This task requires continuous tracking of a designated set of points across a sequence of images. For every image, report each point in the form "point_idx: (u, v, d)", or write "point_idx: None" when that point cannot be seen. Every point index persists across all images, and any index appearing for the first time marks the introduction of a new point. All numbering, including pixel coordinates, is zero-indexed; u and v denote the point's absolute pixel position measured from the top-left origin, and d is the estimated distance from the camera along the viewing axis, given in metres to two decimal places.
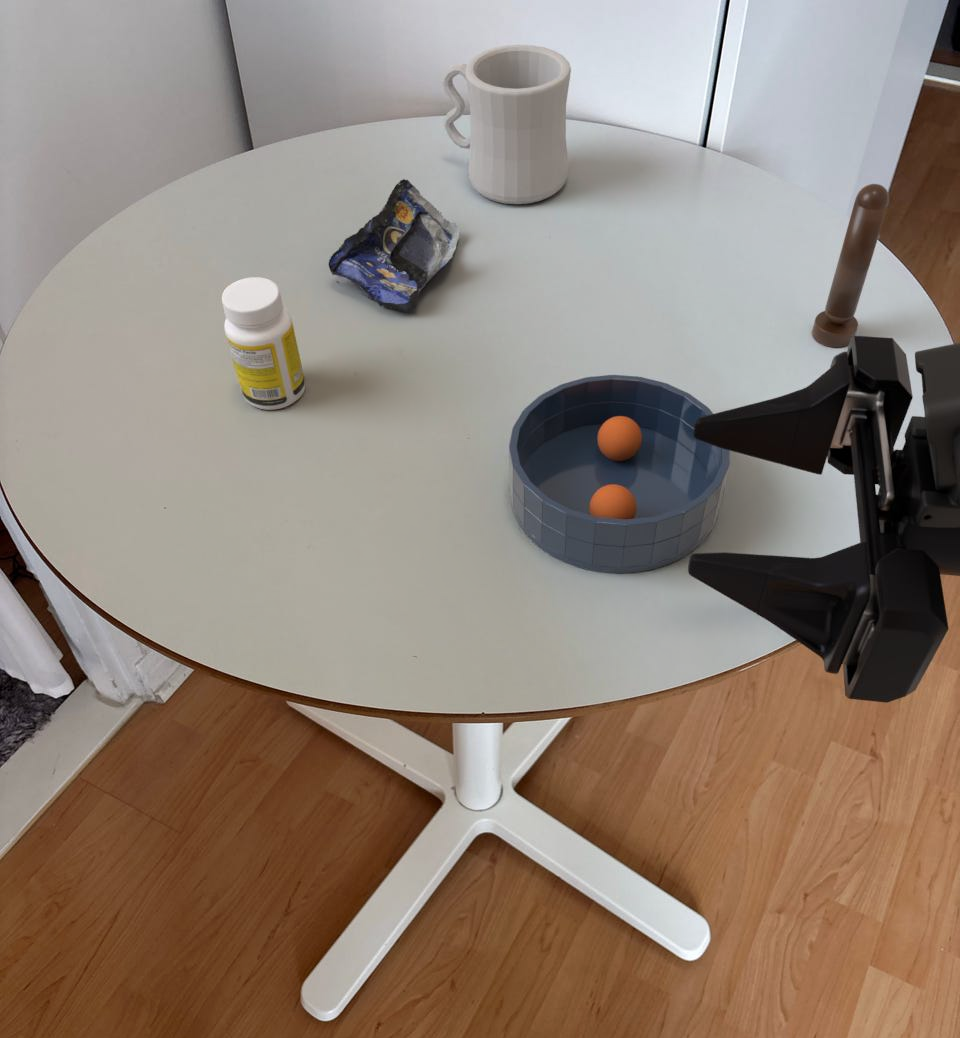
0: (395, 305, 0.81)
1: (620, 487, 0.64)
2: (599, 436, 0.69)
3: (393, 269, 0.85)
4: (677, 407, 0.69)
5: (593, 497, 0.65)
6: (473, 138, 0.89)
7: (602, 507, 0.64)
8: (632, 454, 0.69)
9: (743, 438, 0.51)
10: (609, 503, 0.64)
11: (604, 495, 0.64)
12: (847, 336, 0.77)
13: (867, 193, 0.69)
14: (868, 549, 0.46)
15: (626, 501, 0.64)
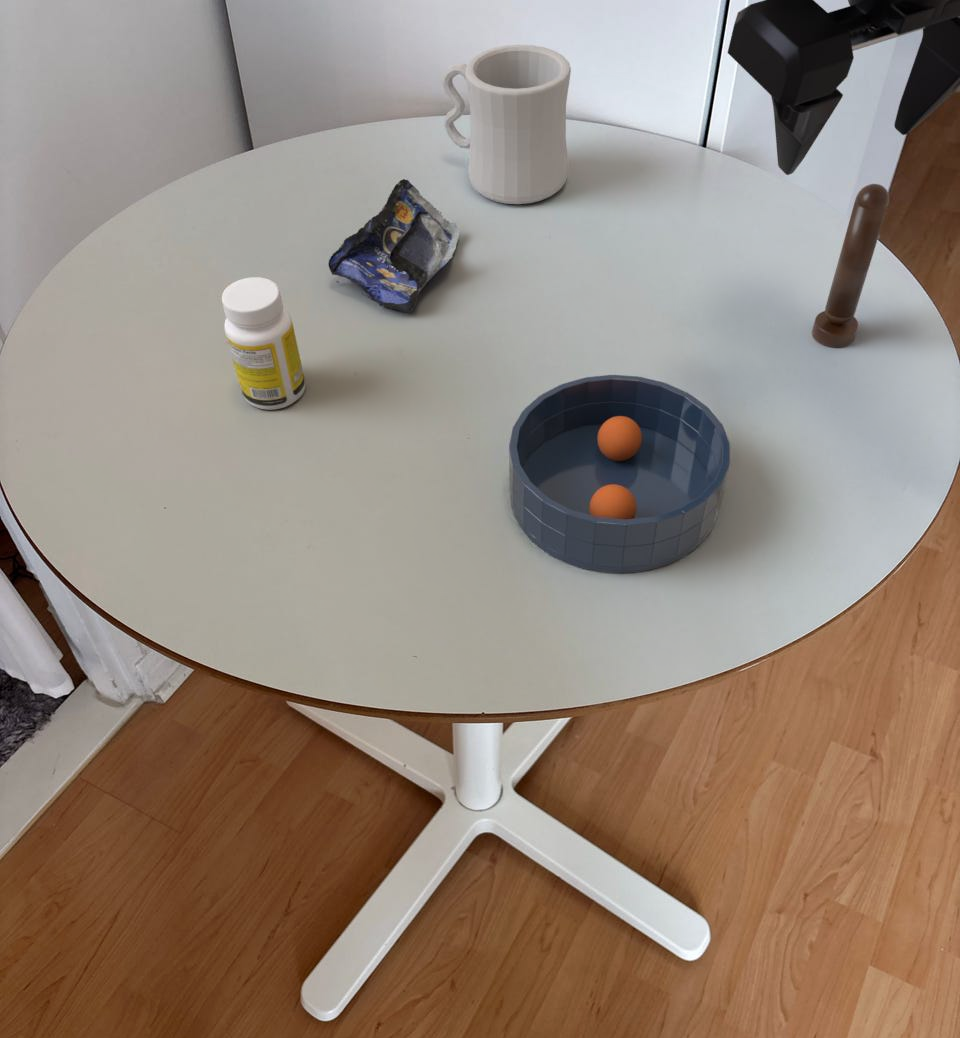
0: (395, 305, 0.81)
1: (620, 487, 0.64)
2: (599, 436, 0.69)
3: (393, 269, 0.85)
4: (677, 407, 0.69)
5: (593, 497, 0.65)
6: (473, 138, 0.89)
7: (602, 507, 0.64)
8: (632, 454, 0.69)
9: (918, 98, 0.64)
10: (609, 503, 0.64)
11: (604, 495, 0.64)
12: (847, 336, 0.77)
13: (867, 193, 0.69)
14: None
15: (626, 501, 0.64)
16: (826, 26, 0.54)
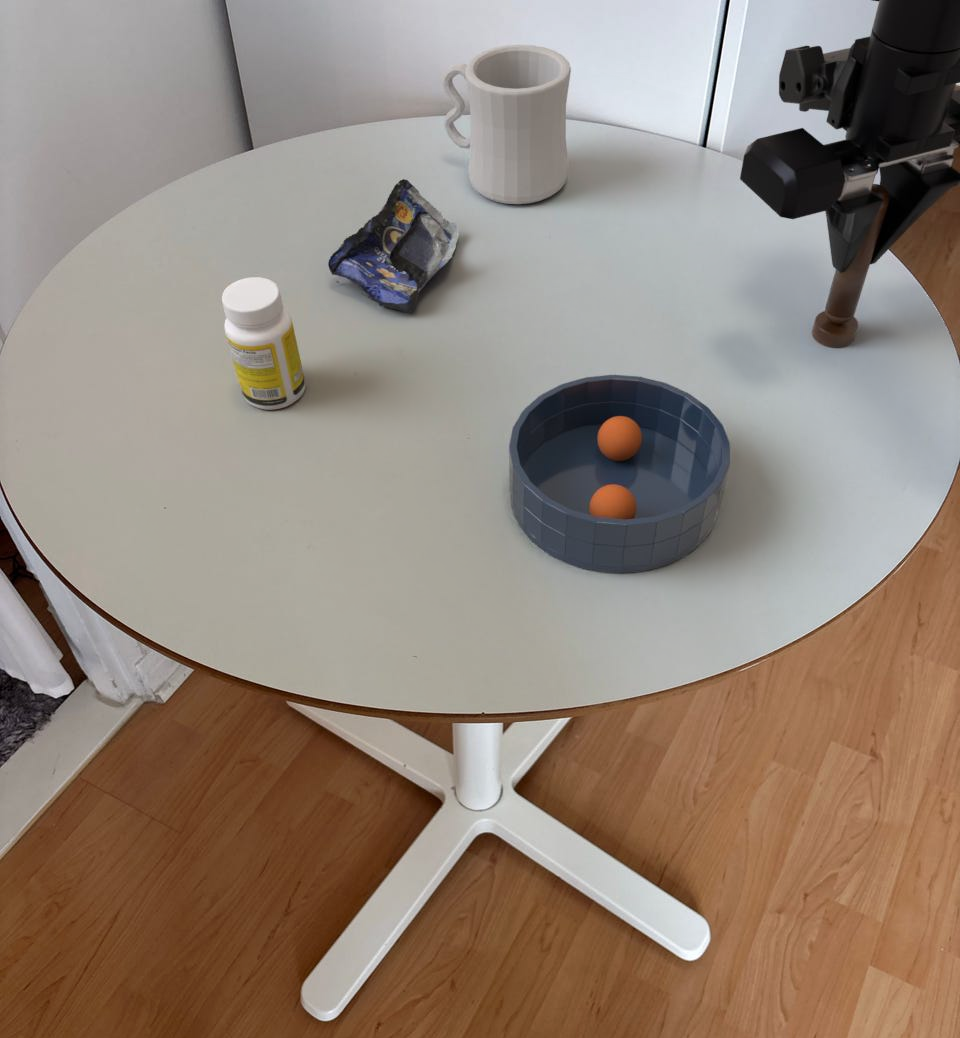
0: (395, 305, 0.81)
1: (620, 487, 0.64)
2: (599, 436, 0.69)
3: (393, 269, 0.85)
4: (677, 407, 0.69)
5: (593, 497, 0.65)
6: (473, 138, 0.89)
7: (602, 507, 0.64)
8: (632, 454, 0.69)
9: (880, 232, 0.72)
10: (609, 503, 0.64)
11: (604, 495, 0.64)
12: (847, 336, 0.77)
13: None
14: None
15: (626, 501, 0.64)
16: (821, 155, 0.64)
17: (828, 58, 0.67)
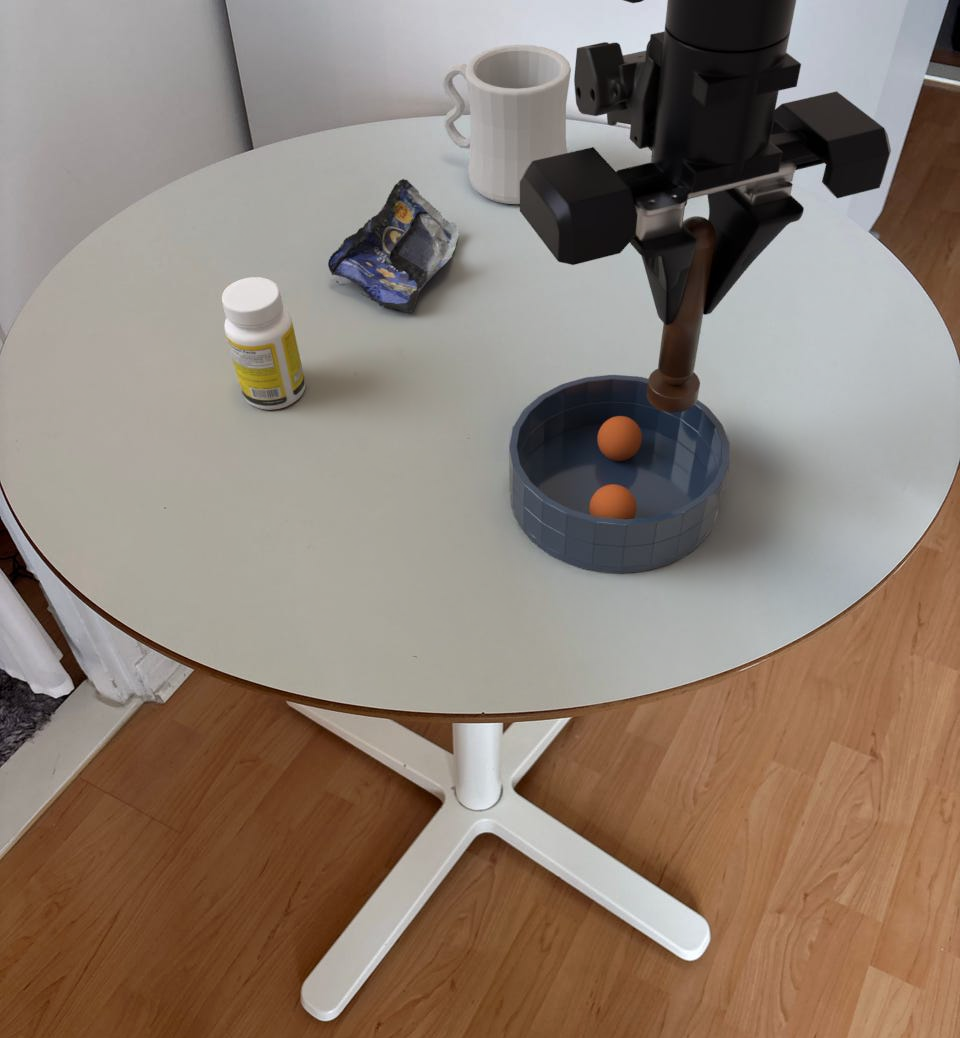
0: (395, 305, 0.81)
1: (620, 487, 0.64)
2: (599, 436, 0.69)
3: (393, 269, 0.85)
4: None
5: (593, 497, 0.65)
6: (473, 138, 0.89)
7: (602, 507, 0.64)
8: (632, 454, 0.69)
9: (711, 276, 0.57)
10: (609, 503, 0.64)
11: (604, 495, 0.64)
12: (684, 399, 0.63)
13: None
14: None
15: (626, 501, 0.64)
16: (607, 183, 0.49)
17: (633, 58, 0.53)
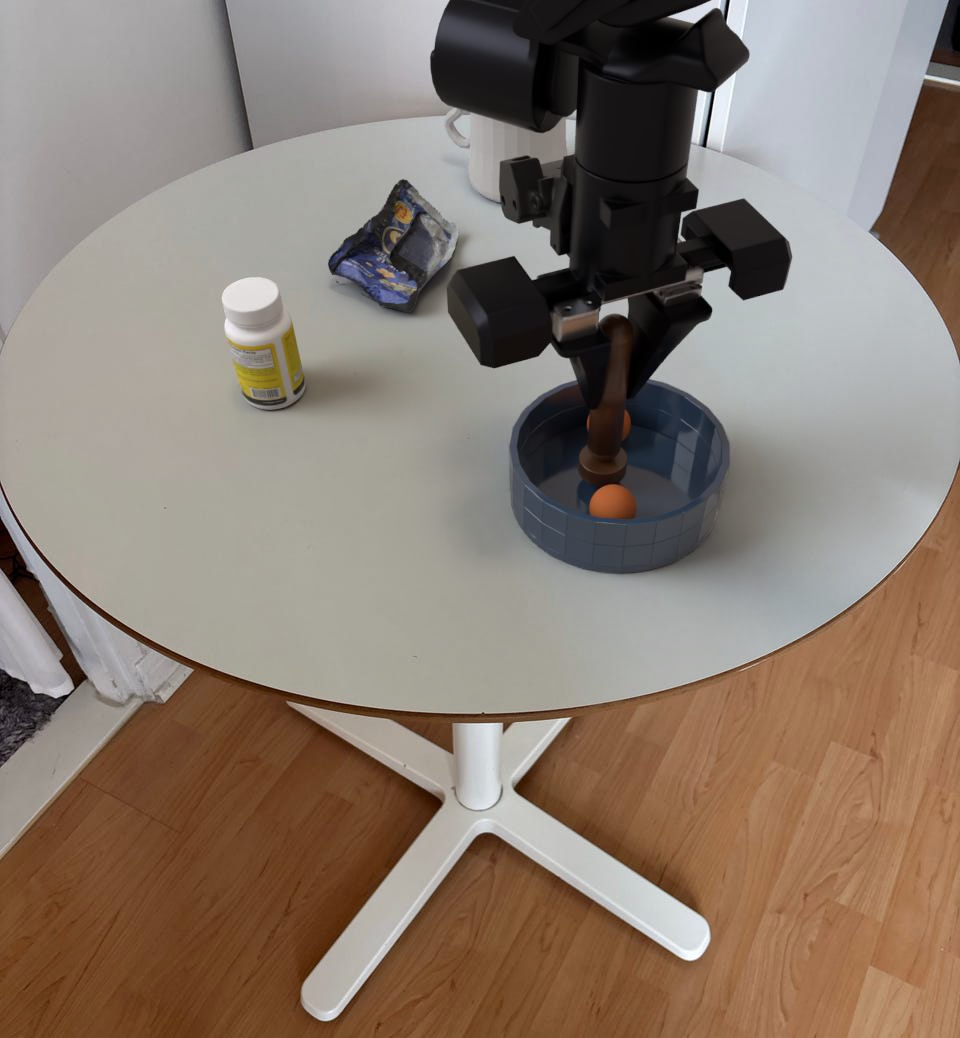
0: (395, 305, 0.81)
1: (620, 487, 0.64)
2: (587, 425, 0.70)
3: (392, 269, 0.85)
4: (677, 407, 0.69)
5: (593, 497, 0.65)
6: (473, 138, 0.89)
7: (602, 507, 0.64)
8: None
9: (632, 366, 0.61)
10: (609, 503, 0.64)
11: (604, 495, 0.64)
12: (612, 475, 0.66)
13: (605, 325, 0.59)
14: None
15: (626, 501, 0.64)
16: (524, 293, 0.53)
17: (552, 170, 0.57)
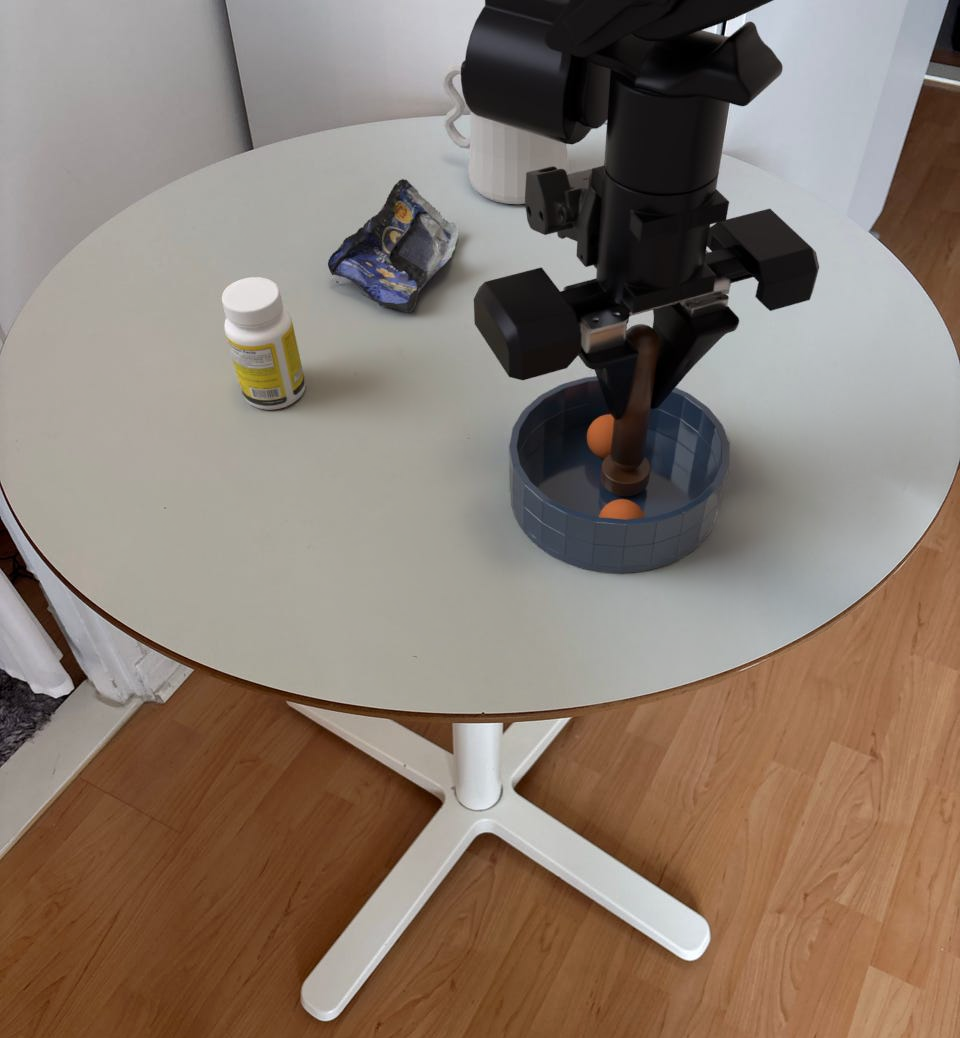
0: (395, 305, 0.81)
1: None
2: (587, 439, 0.69)
3: (392, 269, 0.85)
4: (677, 407, 0.69)
5: None
6: (473, 138, 0.89)
7: None
8: None
9: (657, 376, 0.61)
10: None
11: None
12: (635, 484, 0.66)
13: (631, 336, 0.59)
14: None
15: None
16: (553, 305, 0.53)
17: (579, 181, 0.57)
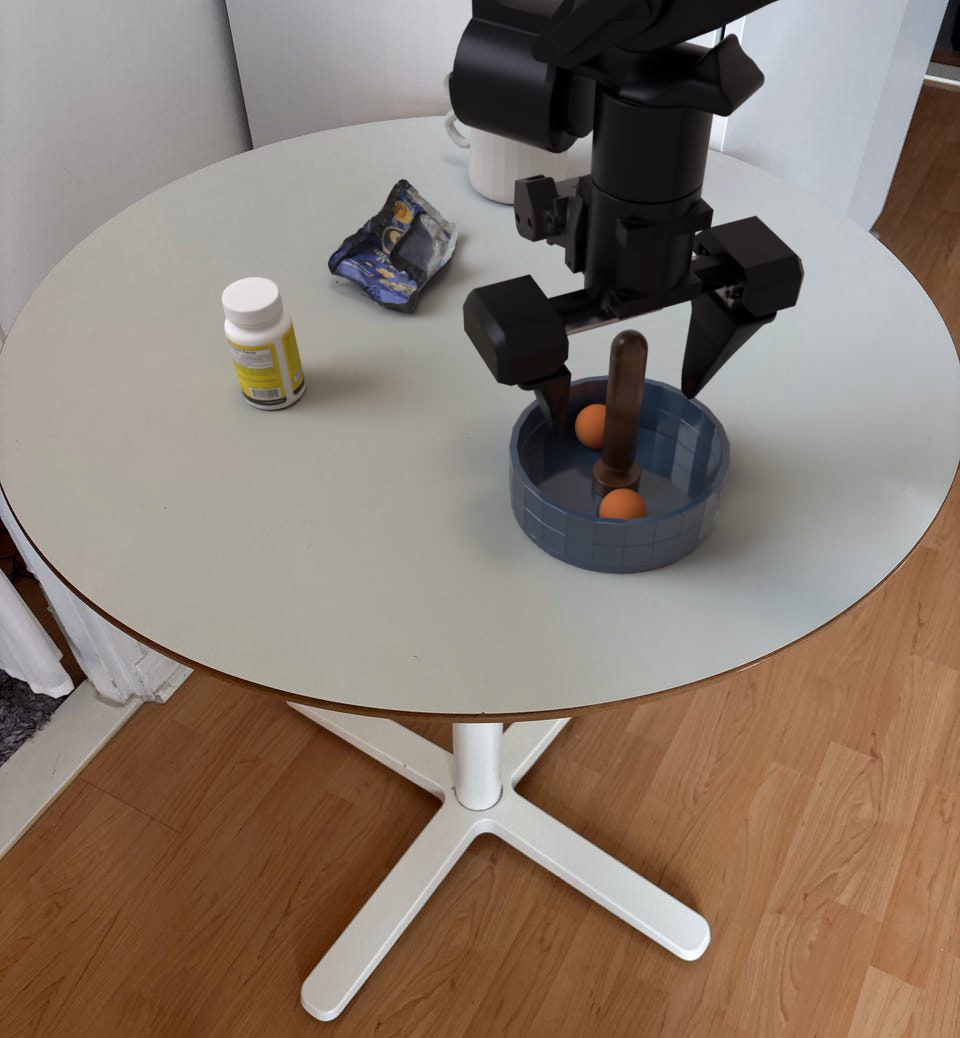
0: (395, 305, 0.81)
1: (638, 498, 0.64)
2: None
3: (392, 269, 0.85)
4: (677, 407, 0.69)
5: (609, 497, 0.64)
6: (473, 138, 0.89)
7: (615, 513, 0.64)
8: (603, 421, 0.69)
9: (694, 366, 0.63)
10: (623, 512, 0.64)
11: (621, 502, 0.64)
12: (626, 488, 0.67)
13: (620, 341, 0.59)
14: None
15: (639, 515, 0.64)
16: (541, 312, 0.54)
17: (567, 189, 0.58)
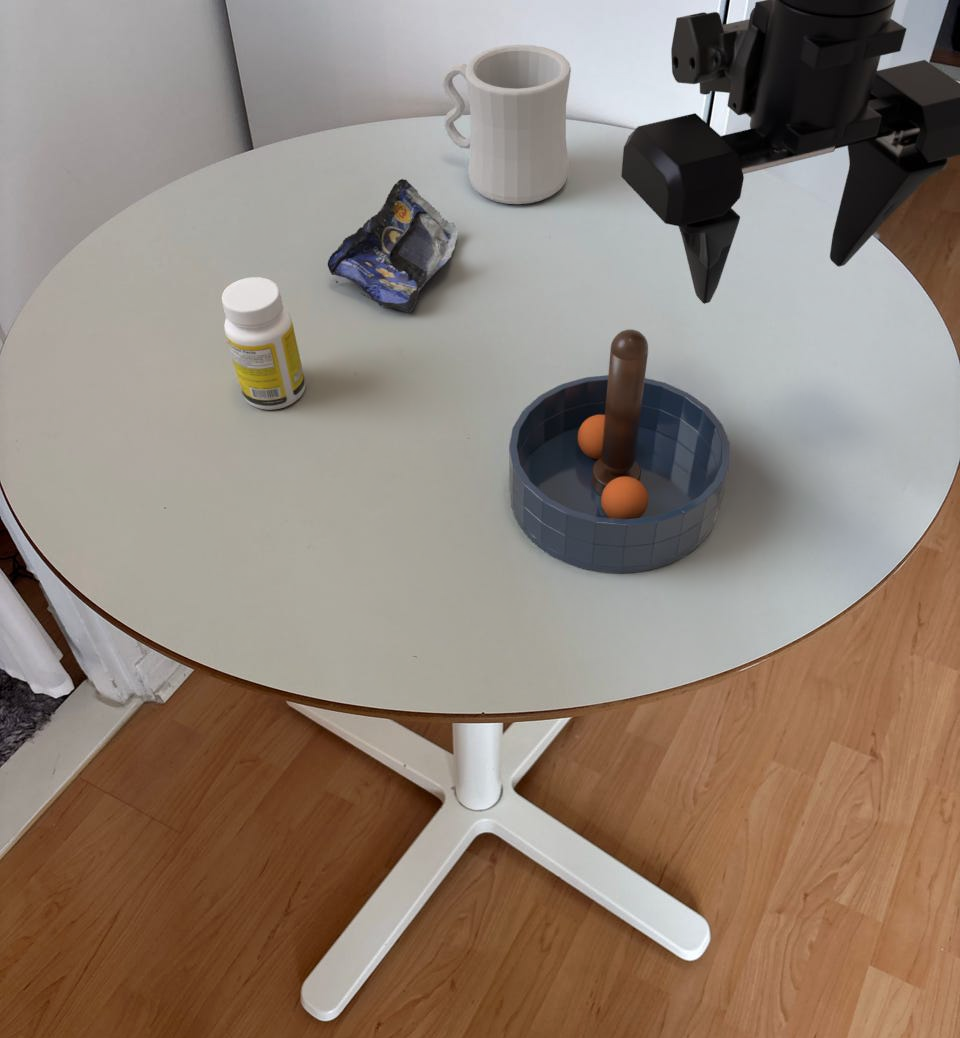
0: (395, 305, 0.81)
1: (640, 482, 0.66)
2: None
3: (392, 269, 0.85)
4: (677, 407, 0.69)
5: (612, 480, 0.66)
6: (473, 138, 0.89)
7: (619, 484, 0.65)
8: None
9: (849, 228, 0.60)
10: (627, 483, 0.64)
11: (625, 478, 0.65)
12: None
13: (620, 341, 0.59)
14: None
15: (642, 491, 0.65)
16: (714, 146, 0.51)
17: (730, 28, 0.55)
